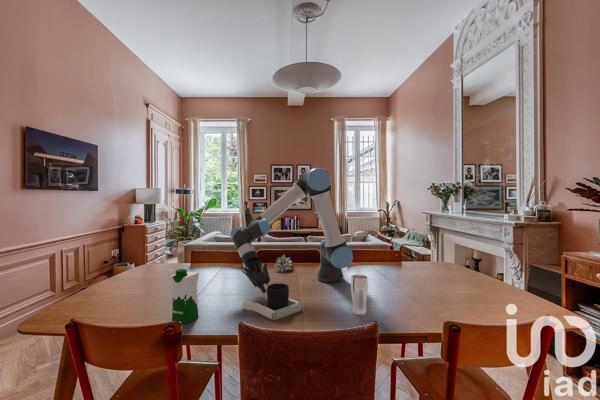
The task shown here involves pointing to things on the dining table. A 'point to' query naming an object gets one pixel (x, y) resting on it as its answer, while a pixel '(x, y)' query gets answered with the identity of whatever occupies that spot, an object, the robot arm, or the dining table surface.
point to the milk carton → (184, 296)
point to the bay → (274, 315)
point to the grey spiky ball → (283, 263)
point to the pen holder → (277, 296)
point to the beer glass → (359, 294)
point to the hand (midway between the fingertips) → (270, 298)
